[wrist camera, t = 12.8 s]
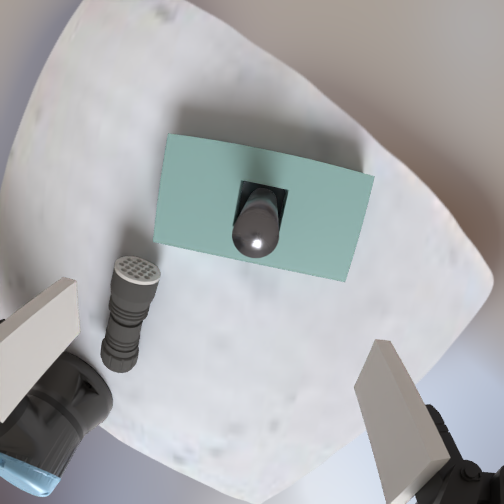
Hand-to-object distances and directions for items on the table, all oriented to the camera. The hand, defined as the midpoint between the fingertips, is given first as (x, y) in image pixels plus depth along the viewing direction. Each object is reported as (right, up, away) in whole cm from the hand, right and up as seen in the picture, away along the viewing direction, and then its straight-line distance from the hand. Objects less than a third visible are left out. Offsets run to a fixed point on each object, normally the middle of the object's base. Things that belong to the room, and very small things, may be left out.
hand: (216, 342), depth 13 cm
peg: (+3, +9, +21) cm, 23 cm away
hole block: (+2, +9, +21) cm, 23 cm away
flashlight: (-14, -4, +27) cm, 30 cm away
